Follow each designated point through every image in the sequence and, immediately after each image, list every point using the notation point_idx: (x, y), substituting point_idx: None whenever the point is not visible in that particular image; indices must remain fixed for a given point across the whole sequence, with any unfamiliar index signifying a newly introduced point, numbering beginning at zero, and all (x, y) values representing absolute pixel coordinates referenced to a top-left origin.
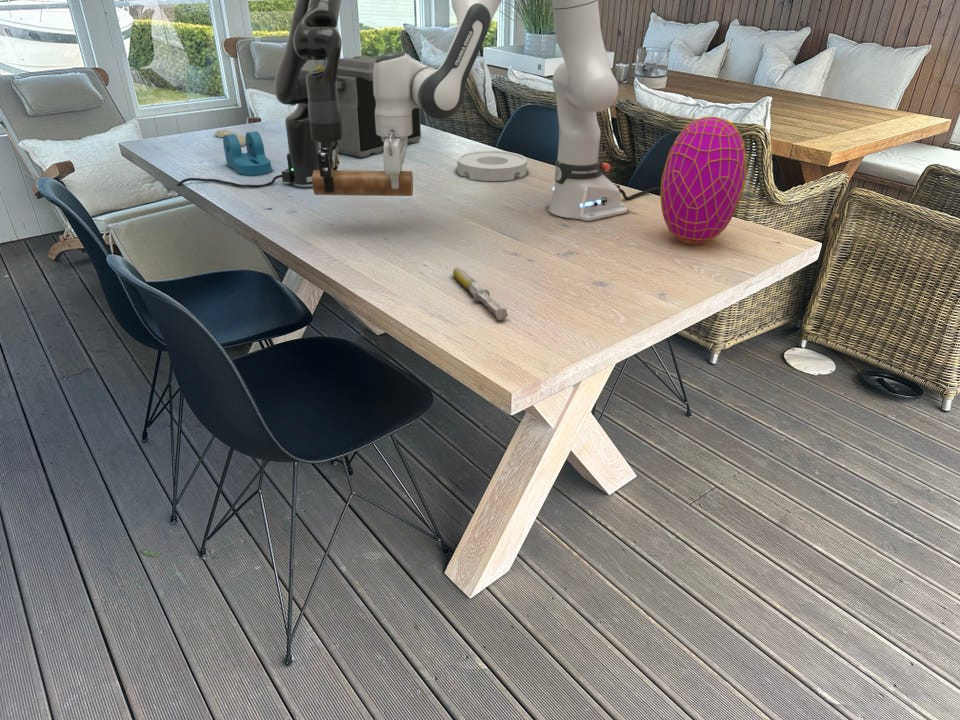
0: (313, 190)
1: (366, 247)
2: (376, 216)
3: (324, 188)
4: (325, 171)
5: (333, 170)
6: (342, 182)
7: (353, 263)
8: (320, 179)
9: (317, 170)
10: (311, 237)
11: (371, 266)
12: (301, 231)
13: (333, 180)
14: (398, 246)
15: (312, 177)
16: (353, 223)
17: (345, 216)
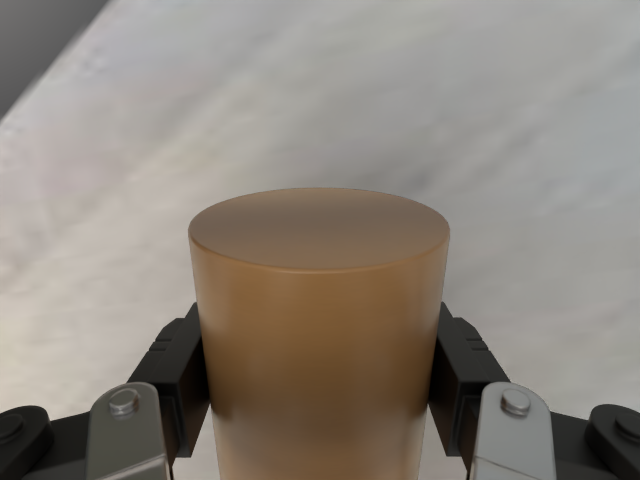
0: (215, 204)
1: None
2: (507, 341)
3: (187, 314)
4: (286, 408)
5: (331, 475)
6: (219, 470)
7: (10, 323)
8: (200, 323)
9: (319, 318)
10: (251, 117)
11: (3, 376)
12: (331, 47)
13: (214, 424)
14: None
15: (197, 248)
16: None
17: (529, 223)
